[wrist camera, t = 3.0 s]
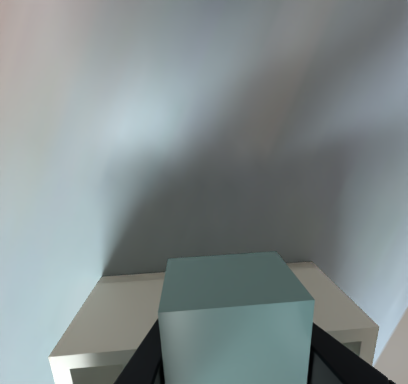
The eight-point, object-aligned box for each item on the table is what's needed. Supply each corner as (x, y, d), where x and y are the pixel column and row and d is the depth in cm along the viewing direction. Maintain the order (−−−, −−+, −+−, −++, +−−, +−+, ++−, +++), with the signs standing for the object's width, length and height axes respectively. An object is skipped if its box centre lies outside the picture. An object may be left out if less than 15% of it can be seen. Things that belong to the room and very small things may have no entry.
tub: (301, 379, 19) (350, 483, 13) (122, 398, 18) (90, 518, 12) (311, 261, 16) (379, 326, 11) (101, 276, 16) (48, 357, 10)
